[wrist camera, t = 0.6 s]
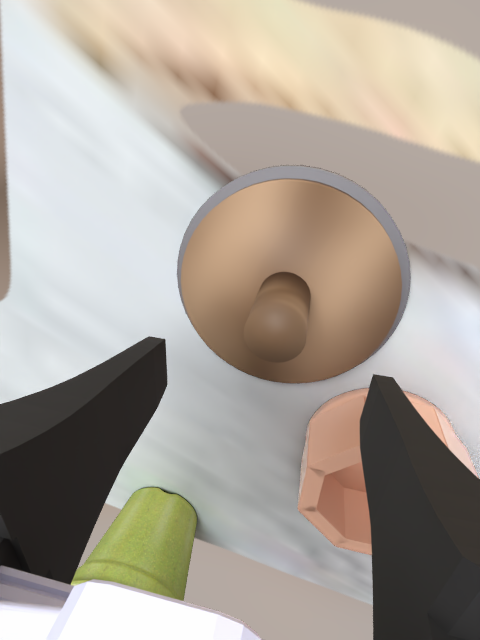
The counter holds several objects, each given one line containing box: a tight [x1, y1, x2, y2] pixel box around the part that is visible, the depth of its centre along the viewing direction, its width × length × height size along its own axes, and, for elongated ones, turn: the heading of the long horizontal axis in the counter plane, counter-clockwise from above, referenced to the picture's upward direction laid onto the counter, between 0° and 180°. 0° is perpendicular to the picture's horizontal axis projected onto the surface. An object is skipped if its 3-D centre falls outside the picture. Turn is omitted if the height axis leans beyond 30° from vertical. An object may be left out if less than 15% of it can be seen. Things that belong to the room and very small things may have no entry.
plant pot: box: [71, 487, 197, 601], centre depth 29 cm, size 9×9×9 cm
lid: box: [181, 178, 402, 383], centre depth 17 cm, size 11×11×5 cm
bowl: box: [298, 388, 479, 555], centre depth 22 cm, size 9×9×4 cm
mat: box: [177, 165, 411, 368], centre depth 20 cm, size 12×12×1 cm
